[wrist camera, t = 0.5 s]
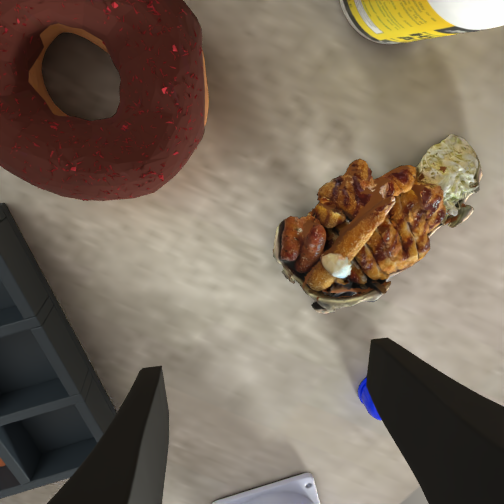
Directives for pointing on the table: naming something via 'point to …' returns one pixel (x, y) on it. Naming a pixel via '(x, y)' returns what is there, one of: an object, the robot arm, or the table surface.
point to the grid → (41, 377)
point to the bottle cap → (367, 400)
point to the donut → (131, 97)
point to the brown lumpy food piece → (375, 224)
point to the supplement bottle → (420, 18)
